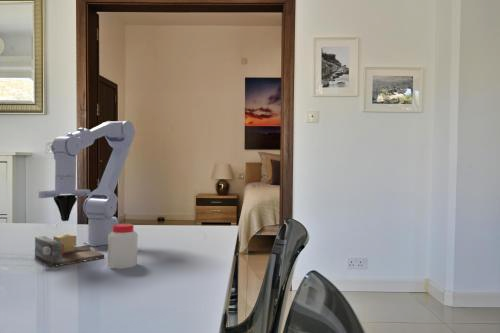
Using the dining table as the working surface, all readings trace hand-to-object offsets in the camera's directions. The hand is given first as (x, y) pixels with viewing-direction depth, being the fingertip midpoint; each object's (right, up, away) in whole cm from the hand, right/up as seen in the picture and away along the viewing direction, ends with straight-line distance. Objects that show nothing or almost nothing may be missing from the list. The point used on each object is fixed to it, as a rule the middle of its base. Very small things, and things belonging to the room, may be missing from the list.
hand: (64, 220), depth 120 cm
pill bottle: (+21, -11, -12) cm, 27 cm away
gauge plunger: (+3, -7, -14) cm, 16 cm away
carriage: (+2, -8, -4) cm, 9 cm away
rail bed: (+4, -10, -5) cm, 12 cm away
